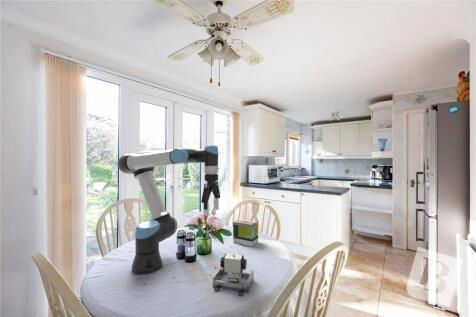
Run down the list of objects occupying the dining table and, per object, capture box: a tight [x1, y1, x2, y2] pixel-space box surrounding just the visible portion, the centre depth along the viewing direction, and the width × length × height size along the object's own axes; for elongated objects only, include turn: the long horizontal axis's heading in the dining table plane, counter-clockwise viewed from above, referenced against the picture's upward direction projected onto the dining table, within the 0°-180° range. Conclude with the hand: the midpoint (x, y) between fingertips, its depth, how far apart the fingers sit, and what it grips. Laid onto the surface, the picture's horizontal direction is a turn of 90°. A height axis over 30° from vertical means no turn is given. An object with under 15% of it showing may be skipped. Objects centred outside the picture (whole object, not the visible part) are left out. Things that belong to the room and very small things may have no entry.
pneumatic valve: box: [219, 253, 248, 282], centre depth 101 cm, size 6×12×12 cm, turn 78°
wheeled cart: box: [212, 266, 255, 297], centre depth 99 cm, size 17×13×4 cm
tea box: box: [232, 218, 259, 248], centre depth 150 cm, size 15×10×15 cm
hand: (211, 212), depth 119 cm, fingers open, 13 cm apart
